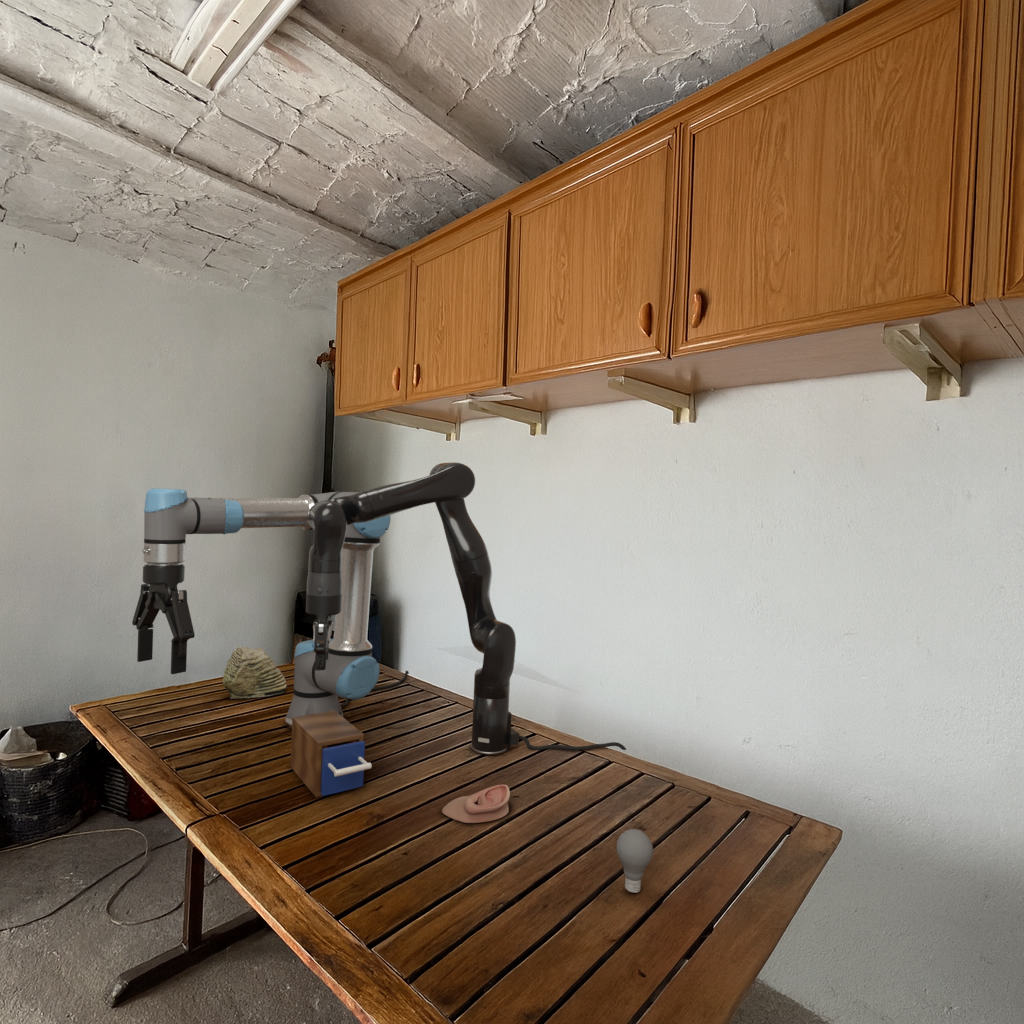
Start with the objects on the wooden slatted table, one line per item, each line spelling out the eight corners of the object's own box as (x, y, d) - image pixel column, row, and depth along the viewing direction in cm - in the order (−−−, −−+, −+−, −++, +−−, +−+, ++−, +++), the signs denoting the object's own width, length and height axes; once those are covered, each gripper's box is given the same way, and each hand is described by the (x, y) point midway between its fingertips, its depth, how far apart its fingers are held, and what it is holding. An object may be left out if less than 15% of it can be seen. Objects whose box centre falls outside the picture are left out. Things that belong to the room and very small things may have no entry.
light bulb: (610, 879, 108) (613, 822, 108) (644, 879, 109) (647, 822, 109) (619, 902, 102) (622, 840, 102) (655, 901, 103) (658, 840, 103)
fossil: (218, 695, 195) (220, 647, 195) (278, 685, 208) (279, 640, 207) (228, 703, 189) (230, 653, 188) (289, 692, 201) (290, 645, 201)
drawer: (373, 796, 133) (375, 750, 133) (331, 807, 128) (333, 759, 127) (335, 759, 151) (337, 719, 150) (297, 767, 145) (299, 725, 145)
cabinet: (361, 786, 139) (363, 734, 139) (315, 797, 133) (318, 742, 133) (332, 757, 154) (334, 710, 153) (290, 766, 148) (292, 717, 147)
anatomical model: (437, 799, 126) (454, 775, 137) (436, 818, 126) (453, 793, 138) (502, 808, 124) (514, 783, 135) (501, 828, 124) (513, 801, 135)
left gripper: (115, 559, 134) (113, 658, 134) (177, 571, 120) (174, 682, 120) (152, 557, 140) (149, 652, 141) (215, 568, 126) (212, 674, 126)
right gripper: (340, 597, 133) (337, 673, 134) (343, 587, 147) (340, 656, 148) (303, 596, 132) (300, 674, 132) (309, 586, 146) (307, 656, 146)
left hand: (161, 666), depth 130 cm, fingers open, 13 cm apart
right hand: (321, 664), depth 140 cm, fingers open, 8 cm apart
